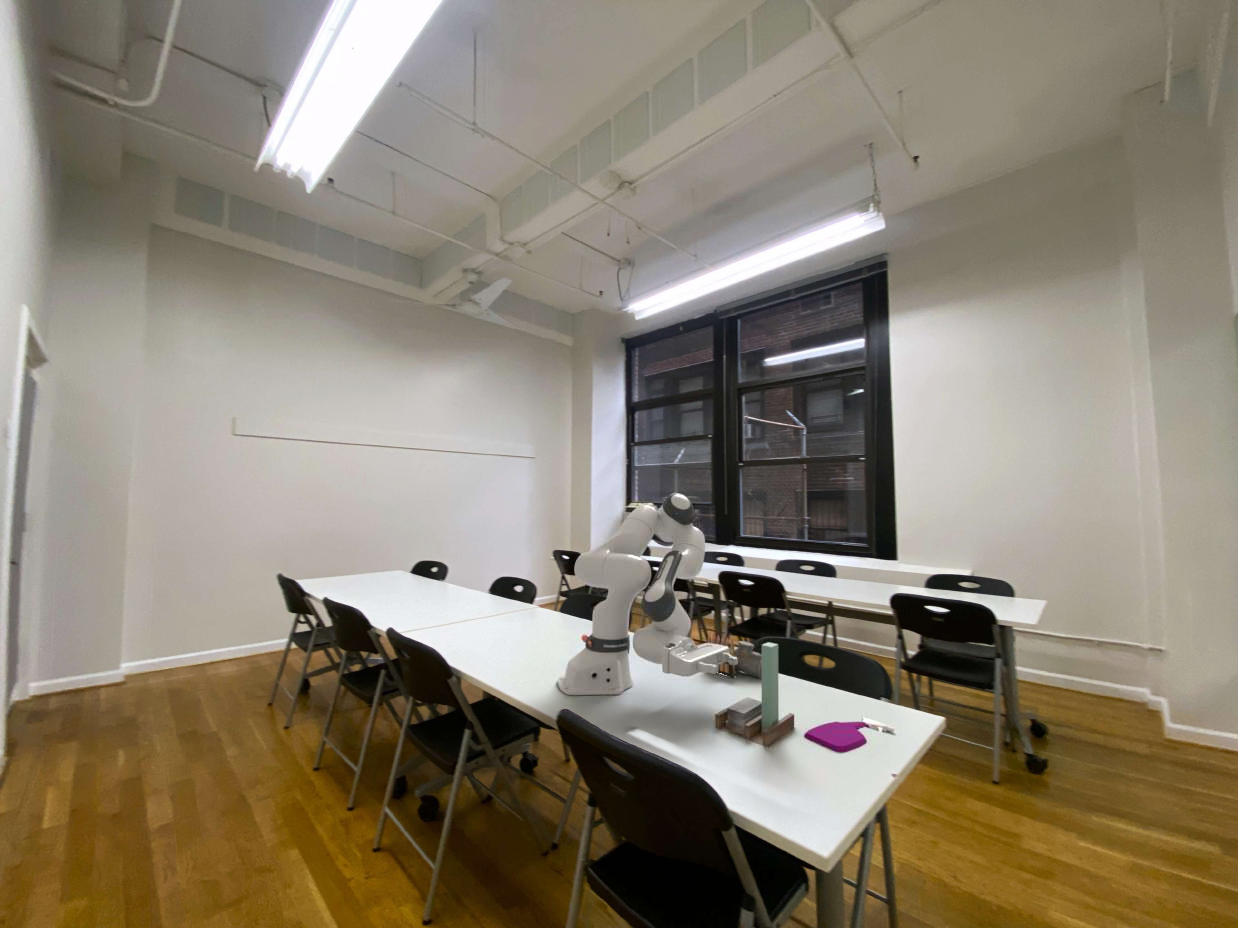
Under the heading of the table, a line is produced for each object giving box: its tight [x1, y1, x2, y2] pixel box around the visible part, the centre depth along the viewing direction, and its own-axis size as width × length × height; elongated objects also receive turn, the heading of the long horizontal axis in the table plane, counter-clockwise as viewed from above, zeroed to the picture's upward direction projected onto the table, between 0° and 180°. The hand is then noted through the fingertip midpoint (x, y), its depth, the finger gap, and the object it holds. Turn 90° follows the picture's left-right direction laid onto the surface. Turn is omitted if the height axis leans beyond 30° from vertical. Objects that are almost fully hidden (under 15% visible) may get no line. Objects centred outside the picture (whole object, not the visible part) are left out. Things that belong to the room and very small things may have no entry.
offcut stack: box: [725, 697, 762, 735], centre depth 118 cm, size 5×11×4 cm, turn 137°
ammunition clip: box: [706, 632, 737, 678], centre depth 159 cm, size 11×2×12 cm, turn 45°
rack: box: [714, 701, 796, 748], centre depth 116 cm, size 14×14×4 cm
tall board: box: [761, 641, 780, 734], centre depth 115 cm, size 2×4×20 cm
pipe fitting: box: [734, 640, 762, 679], centre depth 159 cm, size 12×8×10 cm
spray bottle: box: [803, 716, 895, 753], centre depth 115 cm, size 3×11×24 cm
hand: (726, 665), depth 123 cm, fingers open, 8 cm apart
